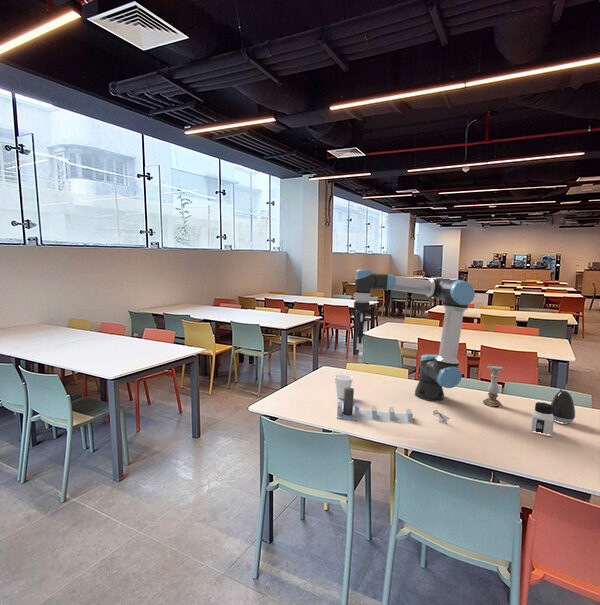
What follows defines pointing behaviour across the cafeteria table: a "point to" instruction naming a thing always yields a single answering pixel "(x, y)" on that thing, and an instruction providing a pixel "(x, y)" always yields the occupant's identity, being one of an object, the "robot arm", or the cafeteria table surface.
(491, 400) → the candle holder
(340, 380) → the cup
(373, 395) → the cafeteria table surface
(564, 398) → the black egg shaped speaker
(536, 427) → the container
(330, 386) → the cafeteria table surface
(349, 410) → the dark grey tall block
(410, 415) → the grey slotted rack
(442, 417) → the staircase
